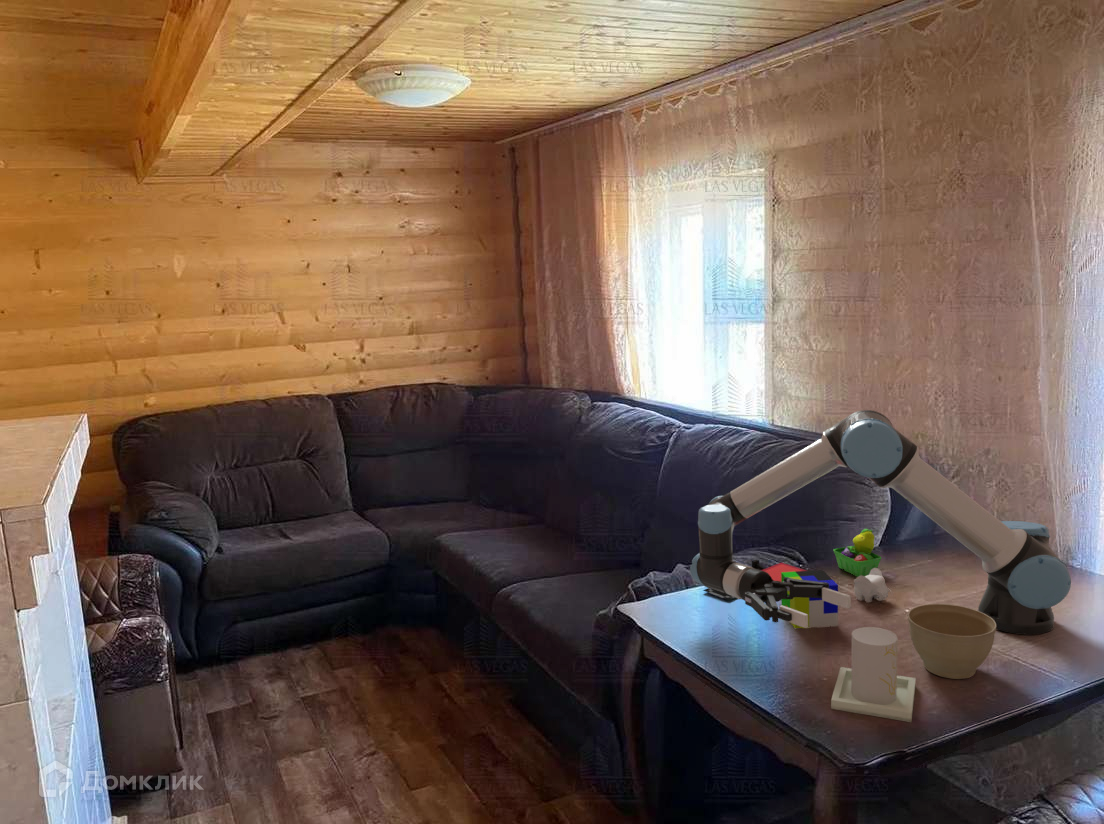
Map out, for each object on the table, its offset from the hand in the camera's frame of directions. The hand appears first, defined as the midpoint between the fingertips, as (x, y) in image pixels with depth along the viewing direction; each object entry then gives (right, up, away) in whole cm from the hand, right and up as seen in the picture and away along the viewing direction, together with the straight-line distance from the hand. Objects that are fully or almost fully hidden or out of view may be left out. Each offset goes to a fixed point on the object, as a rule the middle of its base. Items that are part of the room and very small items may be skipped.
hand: (828, 611), depth 173 cm
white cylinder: (+6, -14, -8) cm, 17 cm away
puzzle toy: (+5, -9, +29) cm, 30 cm away
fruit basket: (+26, -2, +56) cm, 62 cm away
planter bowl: (+25, -12, +1) cm, 28 cm away
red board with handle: (-2, -5, +52) cm, 52 cm away
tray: (+6, -15, -8) cm, 18 cm away
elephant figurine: (+23, -6, +37) cm, 44 cm away
